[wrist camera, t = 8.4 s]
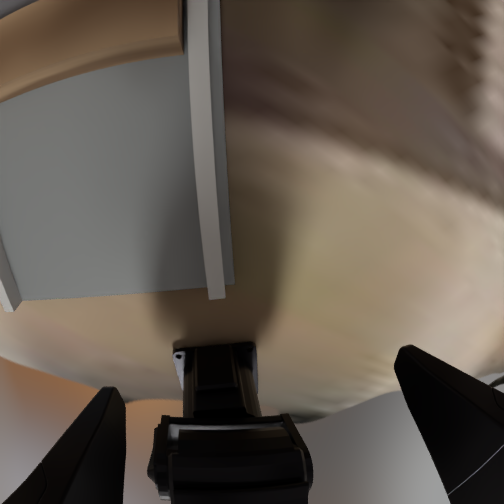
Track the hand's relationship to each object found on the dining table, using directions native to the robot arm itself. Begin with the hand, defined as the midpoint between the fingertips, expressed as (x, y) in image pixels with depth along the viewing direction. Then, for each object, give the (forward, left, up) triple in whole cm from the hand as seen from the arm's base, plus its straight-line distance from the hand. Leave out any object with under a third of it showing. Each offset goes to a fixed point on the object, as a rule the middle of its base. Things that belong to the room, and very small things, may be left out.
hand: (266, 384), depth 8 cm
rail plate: (+7, +9, -12) cm, 17 cm away
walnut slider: (+13, +9, -11) cm, 19 cm away
